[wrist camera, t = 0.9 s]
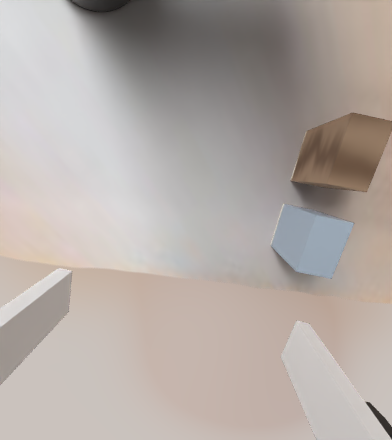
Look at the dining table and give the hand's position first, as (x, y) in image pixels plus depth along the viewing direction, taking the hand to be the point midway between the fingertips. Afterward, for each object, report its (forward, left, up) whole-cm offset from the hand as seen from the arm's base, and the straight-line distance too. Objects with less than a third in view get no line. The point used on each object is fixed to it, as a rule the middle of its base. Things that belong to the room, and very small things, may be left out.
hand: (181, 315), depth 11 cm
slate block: (-2, +17, -25) cm, 30 cm away
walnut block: (-14, +17, -25) cm, 33 cm away
